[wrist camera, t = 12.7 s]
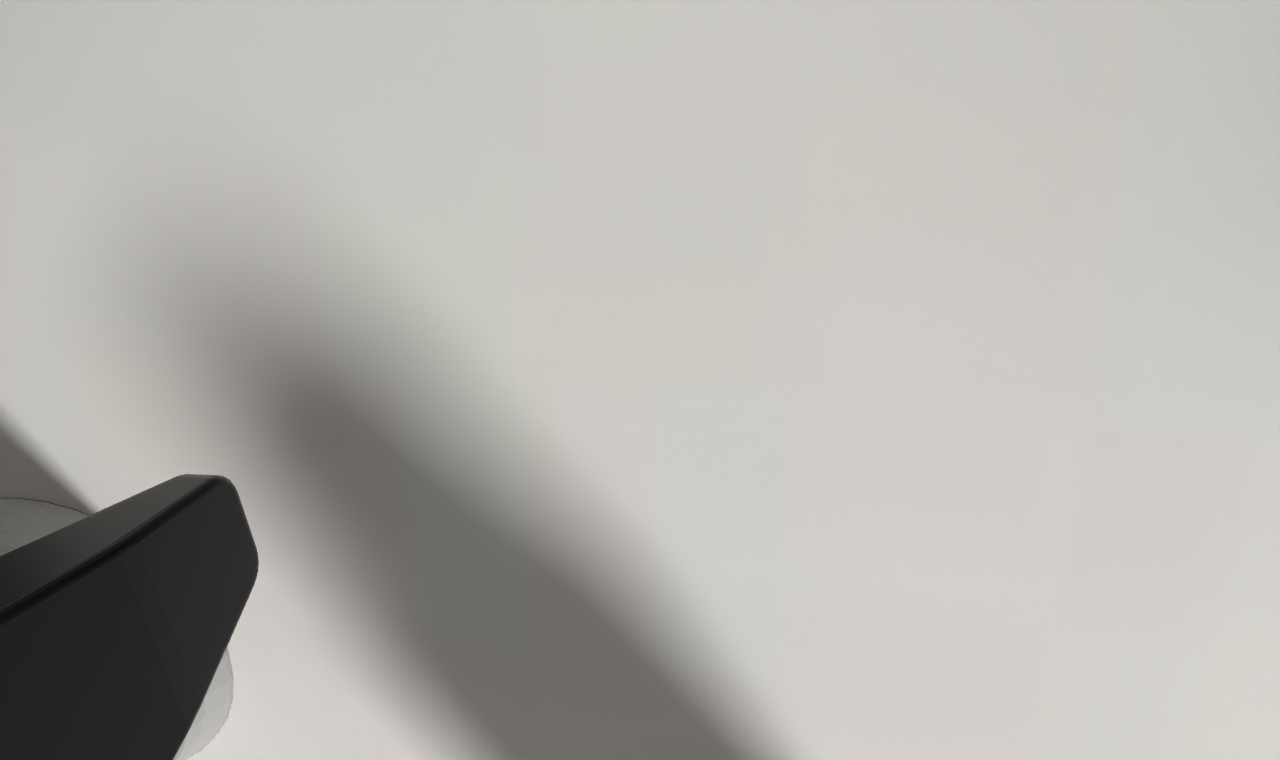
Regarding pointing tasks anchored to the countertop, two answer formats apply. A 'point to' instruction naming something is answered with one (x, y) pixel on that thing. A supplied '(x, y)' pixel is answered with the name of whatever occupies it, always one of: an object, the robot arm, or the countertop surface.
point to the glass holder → (28, 520)
